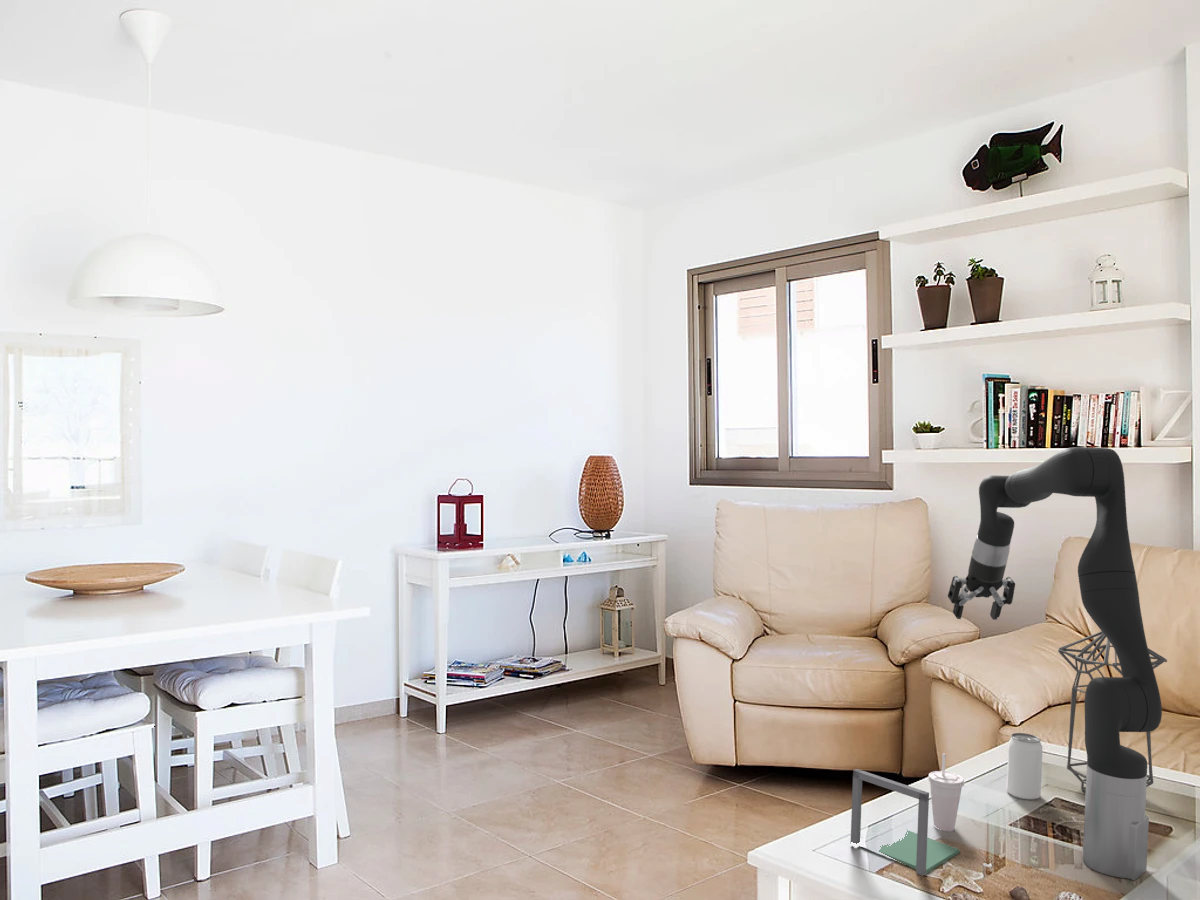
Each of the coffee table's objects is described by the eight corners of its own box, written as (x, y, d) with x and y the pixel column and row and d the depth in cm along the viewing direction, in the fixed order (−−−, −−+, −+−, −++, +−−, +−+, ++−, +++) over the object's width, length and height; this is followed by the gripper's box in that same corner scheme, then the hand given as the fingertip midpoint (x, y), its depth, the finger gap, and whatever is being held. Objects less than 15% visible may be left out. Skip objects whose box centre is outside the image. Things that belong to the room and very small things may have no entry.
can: (1045, 801, 195) (1048, 743, 194) (1014, 800, 195) (1016, 742, 194) (1032, 788, 201) (1034, 732, 201) (1001, 787, 201) (1003, 731, 201)
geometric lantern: (1107, 814, 189) (1110, 638, 189) (1050, 785, 204) (1052, 623, 204) (1171, 806, 194) (1174, 634, 193) (1110, 778, 209) (1113, 619, 208)
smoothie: (933, 816, 186) (936, 746, 185) (966, 826, 182) (969, 754, 181) (921, 827, 181) (924, 754, 180) (955, 837, 177) (958, 763, 176)
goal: (959, 852, 171) (962, 775, 170) (922, 875, 162) (925, 794, 161) (888, 826, 181) (891, 753, 180) (850, 846, 172) (853, 770, 171)
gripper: (965, 564, 212) (951, 626, 218) (1027, 565, 213) (1012, 627, 219) (952, 548, 219) (939, 608, 225) (1013, 549, 220) (998, 609, 226)
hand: (975, 617), depth 222 cm, fingers open, 8 cm apart
